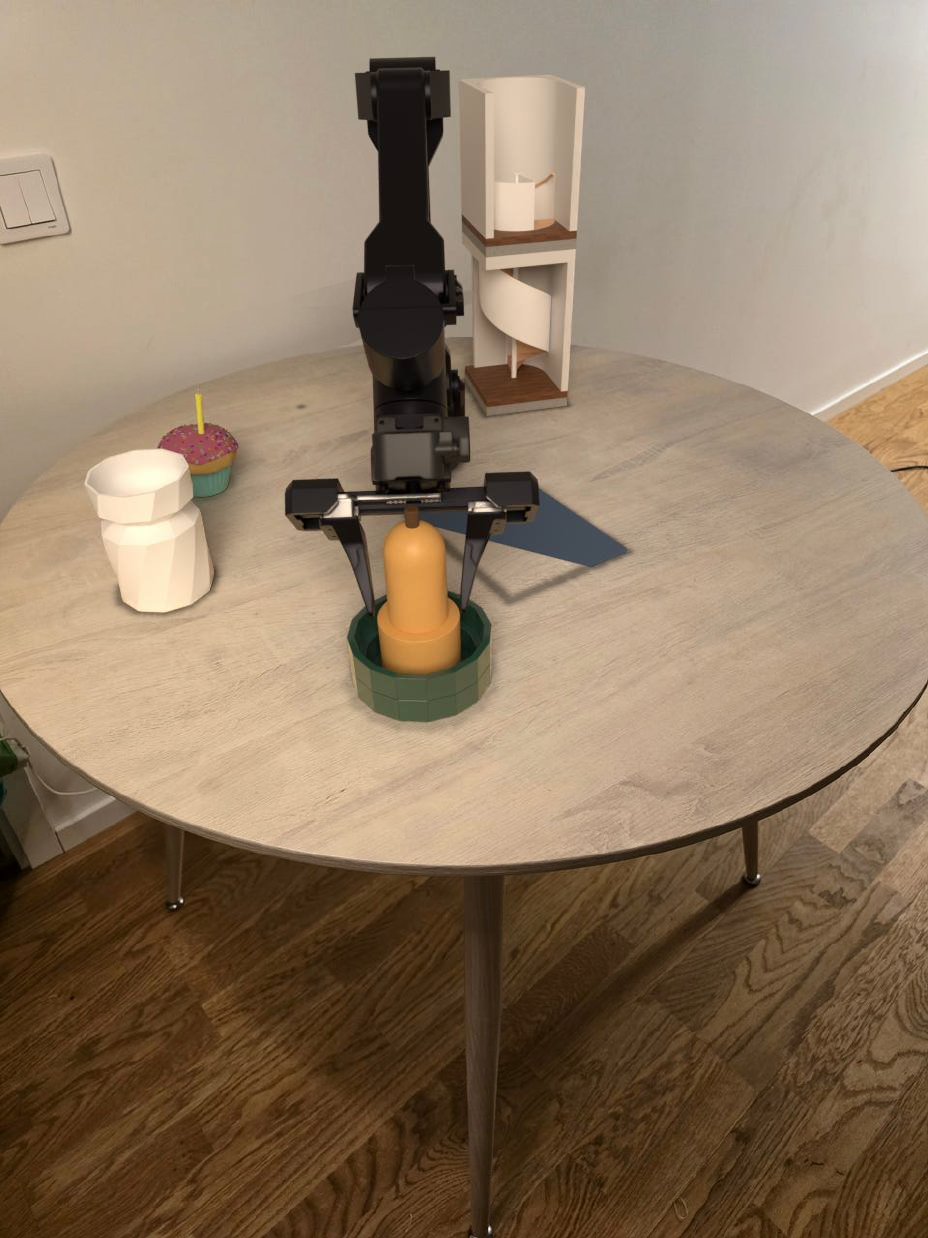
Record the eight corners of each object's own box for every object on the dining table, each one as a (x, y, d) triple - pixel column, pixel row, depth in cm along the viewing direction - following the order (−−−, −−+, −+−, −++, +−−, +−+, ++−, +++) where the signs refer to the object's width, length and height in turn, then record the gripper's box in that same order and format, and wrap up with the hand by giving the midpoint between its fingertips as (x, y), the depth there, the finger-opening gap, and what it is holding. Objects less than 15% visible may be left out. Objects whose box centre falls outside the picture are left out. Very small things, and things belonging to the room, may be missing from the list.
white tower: (465, 380, 117) (458, 79, 96) (539, 371, 119) (550, 74, 97) (486, 415, 109) (485, 93, 87) (566, 405, 111) (585, 87, 89)
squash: (368, 685, 69) (348, 520, 60) (407, 639, 74) (395, 478, 64) (438, 709, 67) (429, 541, 57) (474, 660, 72) (472, 497, 62)
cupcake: (258, 474, 98) (239, 373, 90) (218, 512, 92) (194, 406, 84) (193, 464, 100) (169, 364, 93) (150, 500, 94) (120, 396, 87)
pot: (327, 699, 69) (319, 652, 66) (398, 620, 77) (394, 575, 74) (451, 744, 65) (449, 696, 62) (513, 656, 73) (514, 609, 70)
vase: (130, 624, 77) (91, 508, 70) (113, 574, 83) (76, 462, 76) (226, 595, 80) (199, 481, 73) (203, 549, 86) (176, 440, 79)
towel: (410, 515, 90) (410, 512, 90) (518, 477, 96) (518, 474, 96) (510, 601, 79) (510, 598, 78) (627, 552, 84) (627, 548, 84)
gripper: (267, 376, 58) (270, 605, 57) (541, 367, 59) (553, 594, 57) (296, 431, 70) (300, 623, 68) (527, 422, 70) (537, 614, 68)
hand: (417, 614), depth 65 cm, fingers open, 7 cm apart
